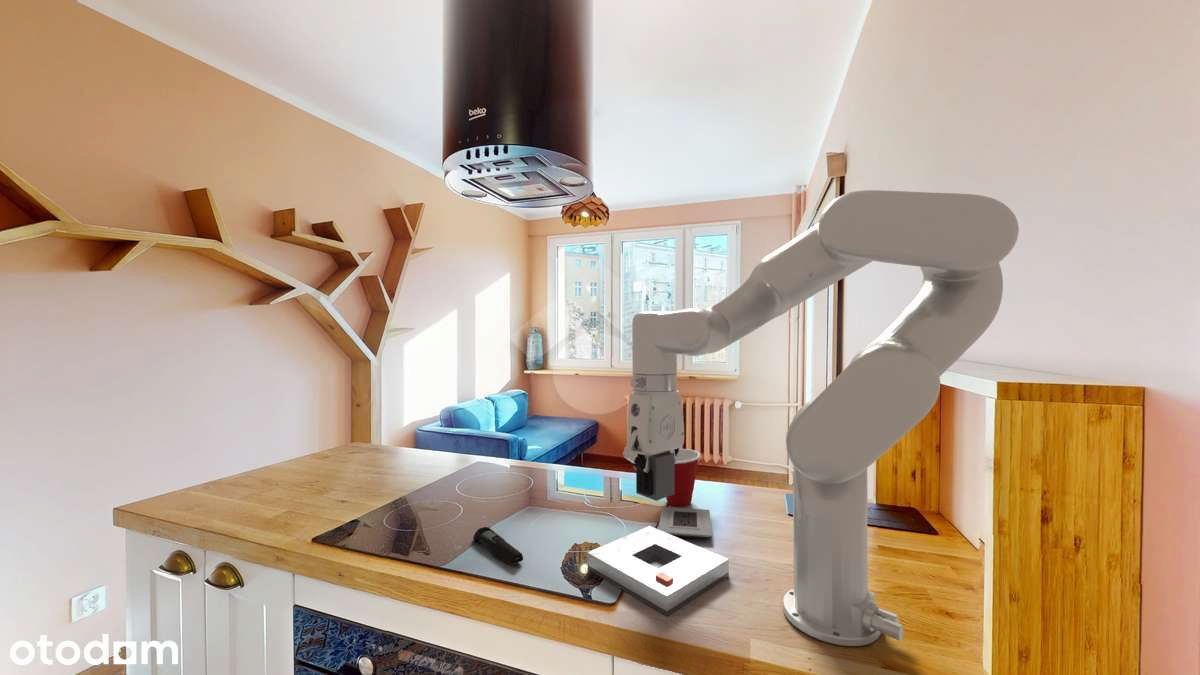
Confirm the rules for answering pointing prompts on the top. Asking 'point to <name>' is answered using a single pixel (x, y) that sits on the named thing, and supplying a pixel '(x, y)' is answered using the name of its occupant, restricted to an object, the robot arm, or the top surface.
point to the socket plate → (658, 568)
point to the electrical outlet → (686, 522)
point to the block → (661, 475)
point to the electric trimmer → (497, 545)
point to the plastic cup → (684, 477)
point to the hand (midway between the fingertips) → (655, 488)
